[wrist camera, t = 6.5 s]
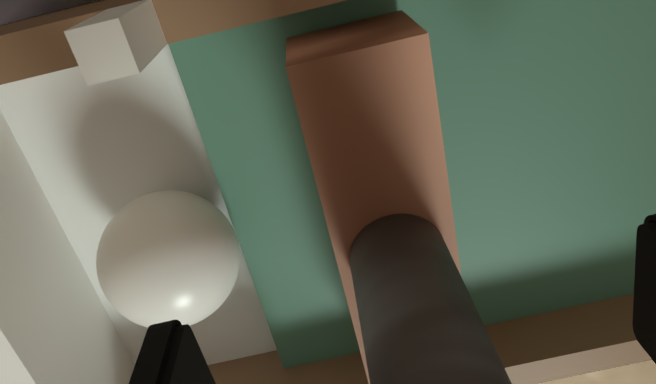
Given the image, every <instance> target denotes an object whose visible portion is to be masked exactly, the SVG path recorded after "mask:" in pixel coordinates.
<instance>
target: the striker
mask: <svg viewBox="0 0 656 384" xmlns="http://www.w3.org/2000/svg"><path fill="white" fill-rule="evenodd" d="M286 70H287V74H288V78H289V82H290V86H291V90H292V93H293V97H294V101H295V105H296V109H297V112H298V116H299V120H300V124H301V128H302V132H303V135H304V139H305V143H306V147H307V151H308V154H309V158H310V162H311V166H312V170H313V173H314V177H315V181H316V185H317V189H318V193H319V196H320V200H321V204H322V208H323V212H324V215H325V219H326V223H327V227H328V231H329V235H330V238H331V242H332V246H333V250H334V254H335V257H336V261H337V265H338V269H339V273H340V277H341V280H342V284H343V288H344V292H345V296H346V299H347V303H348V307H349V311H350V315H351V319H352V322H353V326H354V330H355V334H356V338H357V341H358V345H359V349H360V353H361V357H362V361H363V364H364V368H365V372H366V376H367V380H368V383H369V384H512V383H511V381H510V379H509V377H508V374H507V372H506V370H505V368H504V366H503V364H502V362H501V360H500V358H499V355H498V353H497V351H496V349H495V347H494V345H493V343H492V341H491V338H490V336H489V334H488V332H487V330H486V328H485V326H484V324H483V322H482V319H481V317H480V315H479V313H478V311H477V309H476V307H475V305H474V303H473V300H472V298H471V296H470V294H469V292H468V290H467V288H466V286H465V283H464V281H463V279H462V277H461V270H460V262H459V255H458V247H457V240H456V233H455V225H454V218H453V211H452V203H451V196H450V188H449V181H448V174H447V166H446V159H445V151H444V144H443V137H442V129H441V122H440V115H439V107H438V100H437V92H436V85H435V78H434V70H433V63H432V55H431V48H430V41H429V33H428V32H427V31H426V30H424V29H423V28H422V27H421V26H420V25H419V24H417V23H416V22H415V21H414V20H413V19H412V18H410V17H409V16H408V15H407V14H406V13H405V12H403V11H402V10H400V11H396V12H391V13H387V14H383V15H379V16H375V17H371V18H367V19H363V20H358V21H354V22H350V23H346V24H342V25H338V26H334V27H330V28H325V29H321V30H317V31H313V32H309V33H305V34H301V35H296V36H292V37H288V38H286Z"/></svg>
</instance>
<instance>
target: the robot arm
mask: <svg viewBox="0 0 656 384" xmlns="http://www.w3.org/2000/svg"><path fill="white" fill-rule="evenodd" d="M632 325H633V331H634V334H635V337H636V339H637V341H638V342H639V344H640V345H641V346H642V347H643V349H644V350H645V351H646V352H647V354H648V355H649V356H650V357H651V359H652V360H653V361H654V362H655V363H656V214H652V215H649V216H647V217H646V218H645V220H644V224H641V225H639V226H638V228H637V235H636V257H635V278H634V300H633V322H632ZM129 384H216V383H215V381H214V378H213V376H212V374H211V372H210V369H209V367H208V365H207V363H206V360H205V358H204V356H203V354H202V351H201V349H200V347H199V345H198V342H197V340H196V338H195V335H194V333H193V331H192V329H191V327H190V326H189V325H188V324H185V325H182V324H181V322H180V321H179V320H171V321H166V322H162V323H157V324H153V325H150V326H149V327H148V329H147V332H146V335H145V338H144V341H143V343H142V346H141V349H140V352H139V355H138V358H137V361H136V364H135V367H134V370H133V373H132V375H131V378H130V381H129Z"/></svg>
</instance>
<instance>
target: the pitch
mask: <svg viewBox="0 0 656 384" xmlns="http://www.w3.org/2000/svg"><path fill="white" fill-rule="evenodd" d="M400 10H402V11H403V12H405V13H406V14H407V15H408V16H409V17H410V18H412V19H413V20H414V21H415V22H416V23H417V24H419V25H420V26H421V27H422V28H423V29H424V30H426V31H427V32H428V33H429V41H430V48H431V55H432V63H433V70H434V78H435V85H436V92H437V100H438V107H439V115H440V122H441V129H442V137H443V144H444V151H445V159H446V166H447V174H448V181H449V188H450V196H451V203H452V211H453V218H454V225H455V233H456V240H457V247H458V255H459V262H460V270H461V277H462V279H463V281H464V283H465V286H466V288H467V290H468V292H469V294H470V296H471V298H472V300H473V303H474V305H475V307H476V309H477V311H478V313H479V315H480V317H481V319H482V322H483V324H484V326H485V328H486V330H487V332H488V334H489V336H490V338H491V341H492V343H493V345H494V347H495V349H496V351H497V353H498V355H499V358H500V360H501V362H502V364H503V366H504V368H505V370H506V372H507V374H508V377H509V379H510V381H511V383H512V384H538V383H543V382H547V381H552V380H557V379H562V378H567V377H571V376H576V375H581V374H586V373H591V372H595V371H600V370H605V369H610V368H615V367H619V366H624V365H629V364H634V363H639V362H643V361H648V360H652V359H651V357H650V356H649V355H648V354H647V352H646V351H645V350H644V349H643V347H642V346H641V345H640V344H639V342H638V341H637V339H636V337H635V334H634V331H633V325H632V322H633V300H634V278H635V257H636V235H637V228H638V226H639V225H641V224H644V220H645V218H646V217H647V216H649V215H652V214H656V0H100V1H96V2H92V3H88V4H84V5H80V6H76V7H72V8H68V9H64V10H60V11H56V12H52V13H48V14H44V15H40V16H36V17H32V18H28V19H24V20H20V21H16V22H12V23H8V24H4V25H0V384H129V381H130V378H131V375H132V373H133V370H134V367H135V364H136V361H137V358H138V355H139V352H140V349H141V346H142V343H143V341H144V338H145V335H146V332H147V329H148V328H147V327H144V326H141V325H138V324H136V323H134V322H132V321H130V320H128V319H127V318H125V317H124V316H122V315H121V314H120V313H119V312H118V311H117V310H116V309H114V307H113V306H112V305H111V304H110V302H109V301H108V300H107V298H106V297H105V295H104V293H103V291H102V289H101V287H100V284H99V280H98V277H97V270H96V255H97V249H98V244H99V241H100V238H101V236H102V233H103V231H104V230H105V228H106V226H107V224H108V223H109V222H110V220H111V219H112V218H113V216H114V215H115V214H116V213H117V212H118V211H119V210H120V209H121V208H123V207H124V206H125V205H127V204H128V203H130V202H131V201H133V200H135V199H136V198H139V197H141V196H143V195H146V194H149V193H153V192H158V191H166V190H175V191H184V192H188V193H192V194H195V195H198V196H200V197H202V198H204V199H206V200H208V201H209V202H211V203H212V204H214V205H215V206H216V207H217V208H218V209H219V210H220V211H222V213H223V214H224V215H225V216H226V217H227V219H228V220H229V222H230V223H231V225H232V227H233V229H234V231H235V233H236V236H237V239H238V243H239V248H240V267H239V272H238V277H237V279H236V282H235V285H234V287H233V289H232V291H231V293H230V294H229V296H228V297H227V299H226V300H225V301H224V303H223V304H222V305H221V306H220V307H219V308H218V309H217V310H216V311H215V312H214V313H212V314H211V315H210V316H208V317H207V318H205V319H204V320H202V321H200V322H198V323H196V324H193V325H190V327H191V329H192V331H193V333H194V335H195V338H196V340H197V342H198V345H199V347H200V349H201V351H202V354H203V356H204V358H205V360H206V363H207V365H208V367H209V369H210V372H211V374H212V376H213V378H214V381H215V383H216V384H369V383H368V380H367V376H366V372H365V368H364V364H363V361H362V357H361V353H360V349H359V345H358V341H357V338H356V334H355V330H354V326H353V322H352V319H351V315H350V311H349V307H348V303H347V299H346V296H345V292H344V288H343V284H342V280H341V277H340V273H339V269H338V265H337V261H336V257H335V254H334V250H333V246H332V242H331V238H330V235H329V231H328V227H327V223H326V219H325V215H324V212H323V208H322V204H321V200H320V196H319V193H318V189H317V185H316V181H315V177H314V173H313V170H312V166H311V162H310V158H309V154H308V151H307V147H306V143H305V139H304V135H303V132H302V128H301V124H300V120H299V116H298V112H297V109H296V105H295V101H294V97H293V93H292V90H291V86H290V82H289V78H288V74H287V70H286V38H288V37H292V36H296V35H301V34H305V33H309V32H313V31H317V30H321V29H325V28H330V27H334V26H338V25H342V24H346V23H350V22H354V21H358V20H363V19H367V18H371V17H375V16H379V15H383V14H387V13H391V12H396V11H400Z"/></svg>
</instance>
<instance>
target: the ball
mask: <svg viewBox="0 0 656 384" xmlns="http://www.w3.org/2000/svg"><path fill="white" fill-rule="evenodd" d="M239 267H240V248H239V243H238V239H237V236H236V233H235V231H234V229H233V227H232V225H231V223H230V222H229V220H228V219H227V217H226V216H225V215H224V214H223V213H222V211H220V210H219V209H218V208H217V207H216V206H215V205H214V204H212V203H211V202H209V201H208V200H206V199H204V198H202V197H200V196H198V195H195V194H192V193H188V192H184V191H175V190H166V191H158V192H153V193H149V194H146V195H143V196H141V197H139V198H136V199H135V200H133V201H131V202H130V203H128V204H127V205H125V206H124V207H123V208H121V209H120V210H119V211H118V212H117V213H116V214H115V215H114V216H113V218H112V219H111V220H110V222H109V223H108V224H107V226H106V228H105V230H104V231H103V233H102V236H101V238H100V241H99V244H98V249H97V255H96V270H97V277H98V280H99V284H100V287H101V289H102V291H103V293H104V295H105V297H106V298H107V300H108V301H109V302H110V304H111V305H112V306H113V307H114V309H116V310H117V311H118V312H119V313H120V314H121V315H122V316H124V317H125V318H127V319H128V320H130V321H132V322H134V323H136V324H138V325H141V326H144V327H147V328H148V327H149V326H150V325H153V324H157V323H162V322H166V321H171V320H179V321H180V322H181V324H182V325H185V324H188V325H189V326H190V325H193V324H196V323H198V322H200V321H202V320H204V319H205V318H207V317H208V316H210V315H211V314H212V313H214V312H215V311H216V310H217V309H218V308H219V307H220V306H221V305H222V304H223V303H224V301H225V300H226V299H227V297H228V296H229V294H230V293H231V291H232V289H233V287H234V285H235V282H236V279H237V277H238V272H239Z"/></svg>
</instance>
